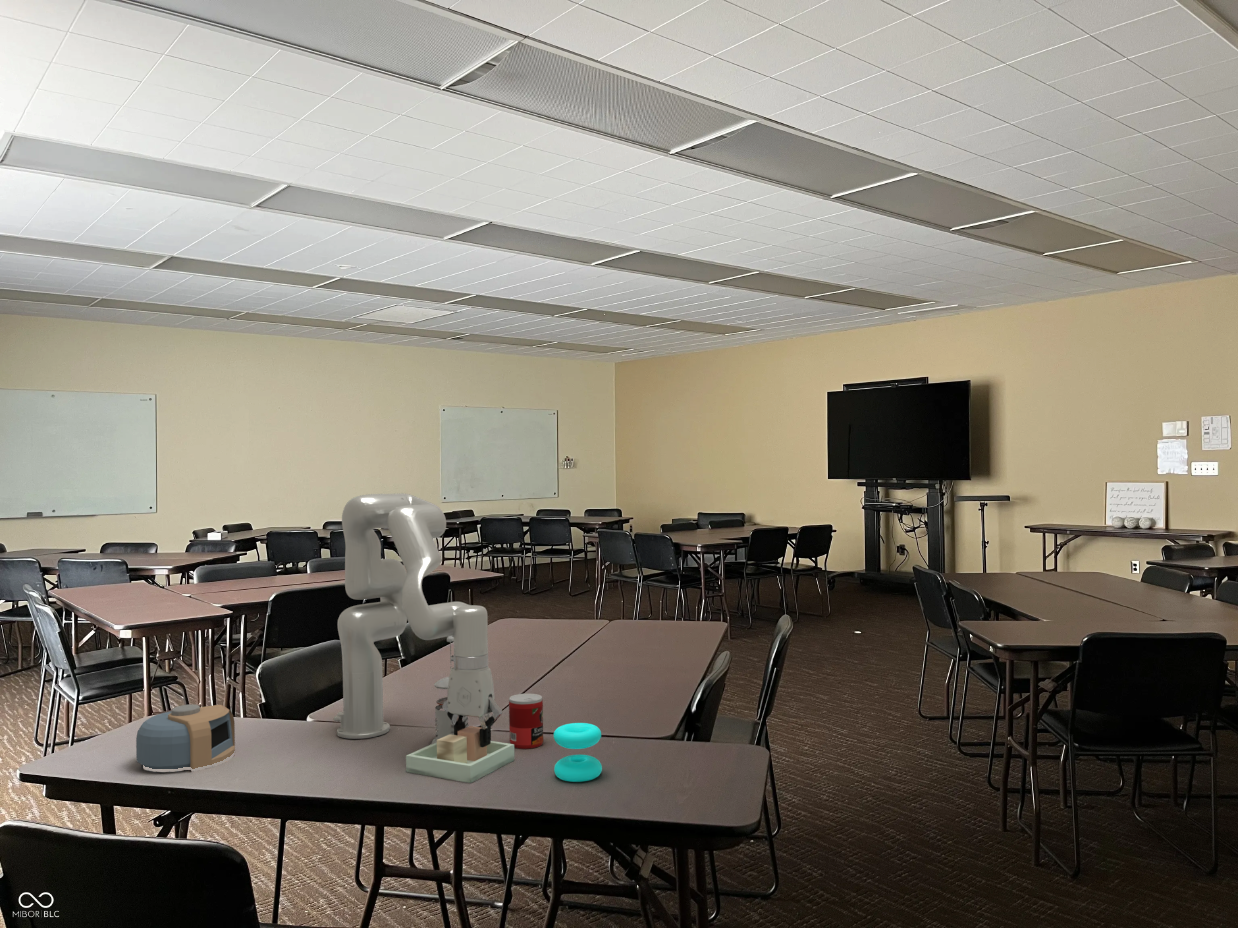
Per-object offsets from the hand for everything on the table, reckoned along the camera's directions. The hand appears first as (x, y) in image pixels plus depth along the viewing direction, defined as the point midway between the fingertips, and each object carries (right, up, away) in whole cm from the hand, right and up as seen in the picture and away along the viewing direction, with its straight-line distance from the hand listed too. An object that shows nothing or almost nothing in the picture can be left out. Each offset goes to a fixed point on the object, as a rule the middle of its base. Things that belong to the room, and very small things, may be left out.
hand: (472, 742), depth 195 cm
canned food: (+11, -4, +12) cm, 17 cm away
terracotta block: (0, -3, 0) cm, 3 cm away
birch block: (-3, -3, -6) cm, 8 cm away
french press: (-7, -5, +17) cm, 19 cm away
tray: (-2, -4, -3) cm, 5 cm away
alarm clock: (-66, -6, +5) cm, 66 cm away
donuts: (+24, -4, -11) cm, 26 cm away
